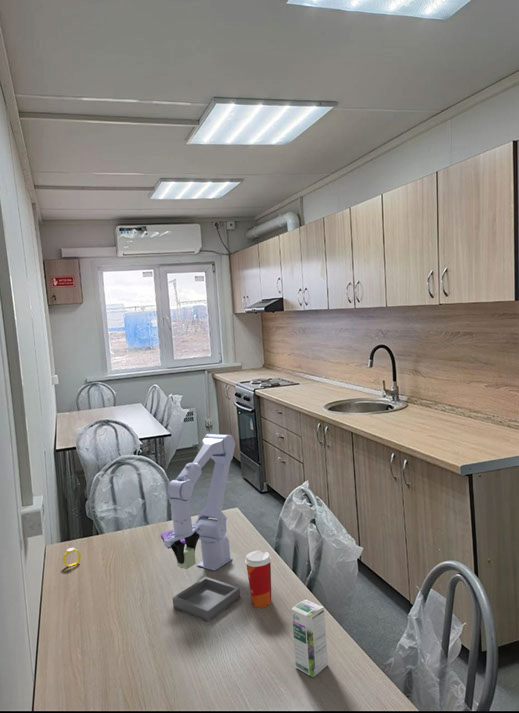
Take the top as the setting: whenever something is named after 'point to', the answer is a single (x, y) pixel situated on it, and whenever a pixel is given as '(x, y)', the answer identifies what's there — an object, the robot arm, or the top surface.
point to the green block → (188, 558)
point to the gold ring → (71, 552)
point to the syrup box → (309, 637)
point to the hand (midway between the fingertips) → (186, 559)
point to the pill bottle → (259, 577)
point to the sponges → (168, 533)
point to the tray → (206, 598)
